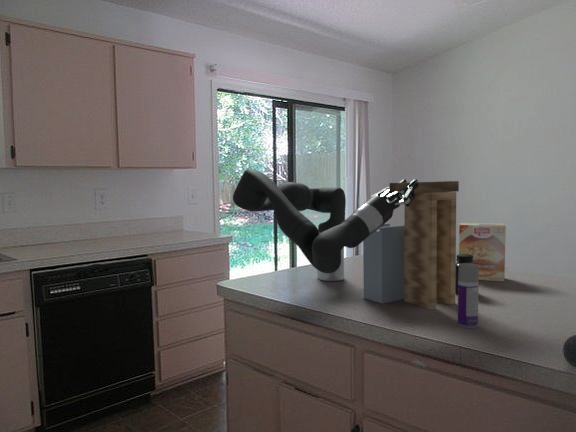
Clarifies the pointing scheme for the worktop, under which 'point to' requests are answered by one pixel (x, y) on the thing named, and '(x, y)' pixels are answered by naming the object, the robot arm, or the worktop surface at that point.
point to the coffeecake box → (484, 248)
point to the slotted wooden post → (430, 249)
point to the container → (468, 295)
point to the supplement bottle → (460, 259)
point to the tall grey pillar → (384, 264)
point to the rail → (428, 187)
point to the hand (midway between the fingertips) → (411, 182)
